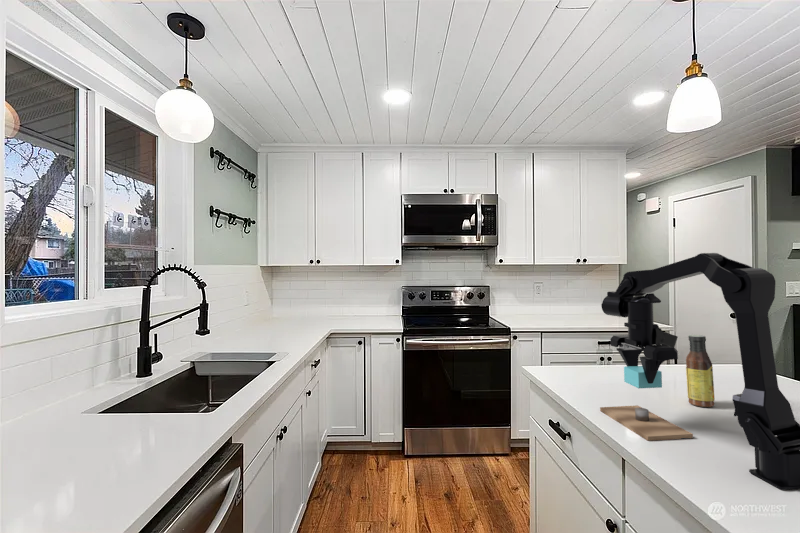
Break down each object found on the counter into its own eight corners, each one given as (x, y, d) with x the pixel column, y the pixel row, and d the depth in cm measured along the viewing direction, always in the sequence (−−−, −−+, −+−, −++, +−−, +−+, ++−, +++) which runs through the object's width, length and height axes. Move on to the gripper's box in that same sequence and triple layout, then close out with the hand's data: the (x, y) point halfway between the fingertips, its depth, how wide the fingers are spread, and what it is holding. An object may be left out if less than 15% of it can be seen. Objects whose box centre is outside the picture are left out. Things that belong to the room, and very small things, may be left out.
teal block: (662, 387, 101) (661, 371, 101) (638, 388, 100) (638, 372, 100) (646, 380, 107) (645, 365, 107) (624, 381, 106) (623, 366, 106)
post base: (693, 438, 94) (692, 423, 94) (647, 440, 93) (647, 425, 93) (637, 408, 114) (637, 396, 114) (600, 410, 113) (599, 398, 113)
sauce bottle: (719, 408, 112) (716, 337, 112) (694, 407, 113) (691, 337, 113) (706, 401, 118) (704, 333, 118) (683, 400, 119) (680, 333, 120)
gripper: (699, 323, 94) (701, 389, 94) (646, 314, 113) (648, 369, 113) (653, 325, 94) (655, 391, 94) (608, 315, 113) (610, 371, 113)
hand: (642, 379), depth 103 cm, fingers closed on teal block, 6 cm apart
